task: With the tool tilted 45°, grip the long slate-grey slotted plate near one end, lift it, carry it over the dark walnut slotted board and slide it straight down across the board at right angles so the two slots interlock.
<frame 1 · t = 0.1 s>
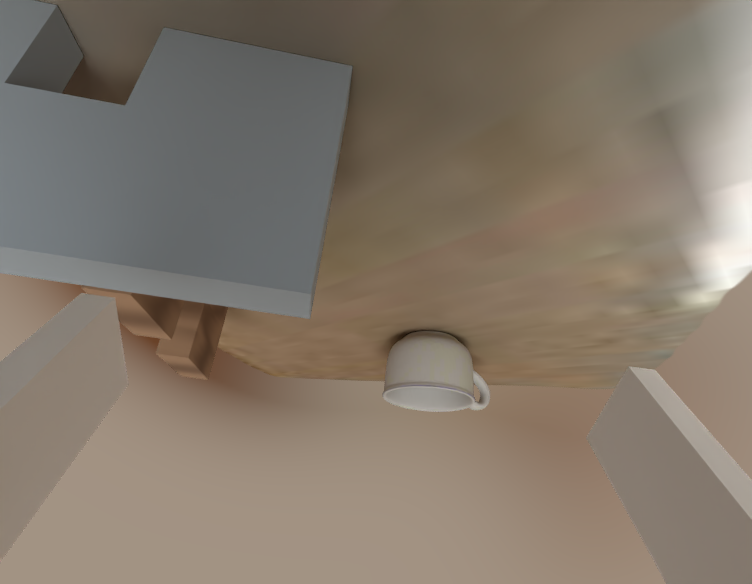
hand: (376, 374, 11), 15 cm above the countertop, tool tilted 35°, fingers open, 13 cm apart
teacup: (440, 340, 54), on the countertop
walnut board: (200, 232, 36), on the countertop
slate plate: (121, 42, 20), on the countertop
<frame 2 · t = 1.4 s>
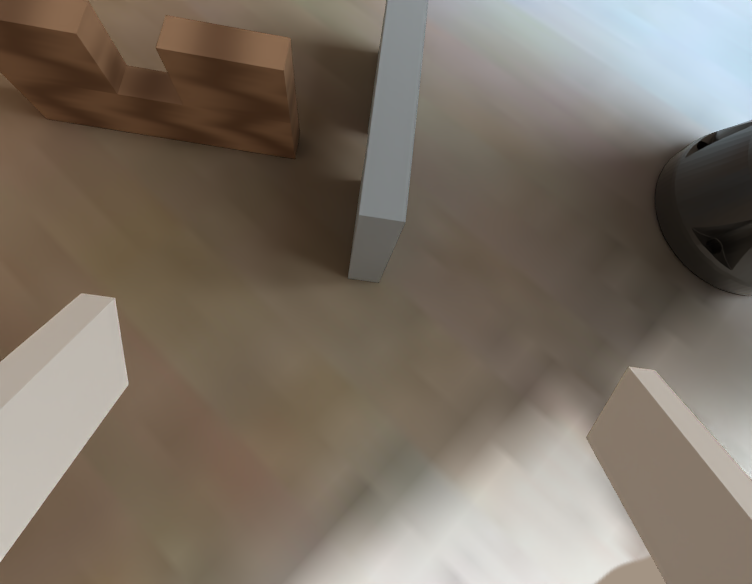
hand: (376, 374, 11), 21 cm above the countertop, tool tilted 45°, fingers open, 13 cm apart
walnut board: (177, 126, 36), on the countertop
slate plate: (378, 159, 37), on the countertop
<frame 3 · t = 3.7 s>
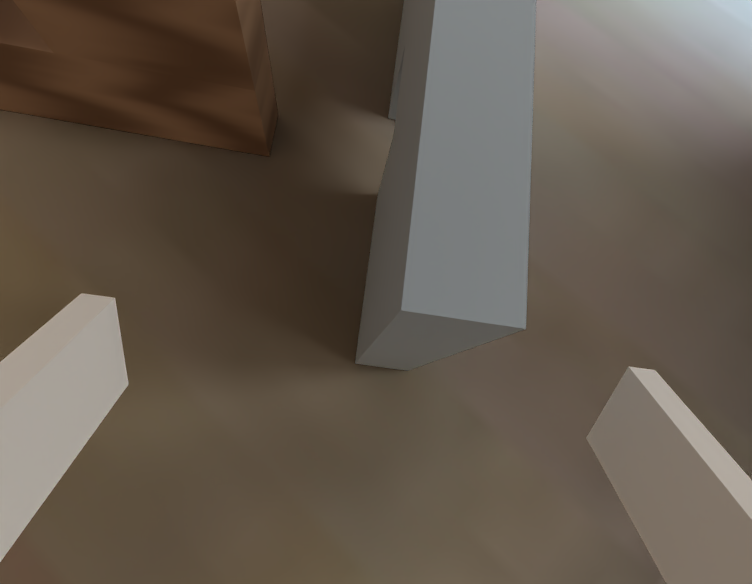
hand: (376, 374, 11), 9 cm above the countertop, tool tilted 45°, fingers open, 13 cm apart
walnut board: (71, 99, 21), on the countertop
slate plate: (406, 159, 23), on the countertop
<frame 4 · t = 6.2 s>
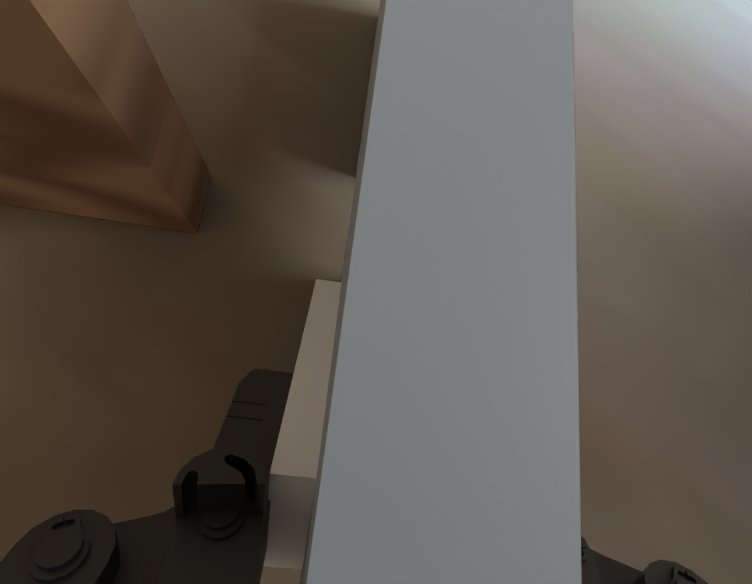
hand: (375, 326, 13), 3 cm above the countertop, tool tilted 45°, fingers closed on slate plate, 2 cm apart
slate plate: (378, 231, 18), on the countertop, touching gripper
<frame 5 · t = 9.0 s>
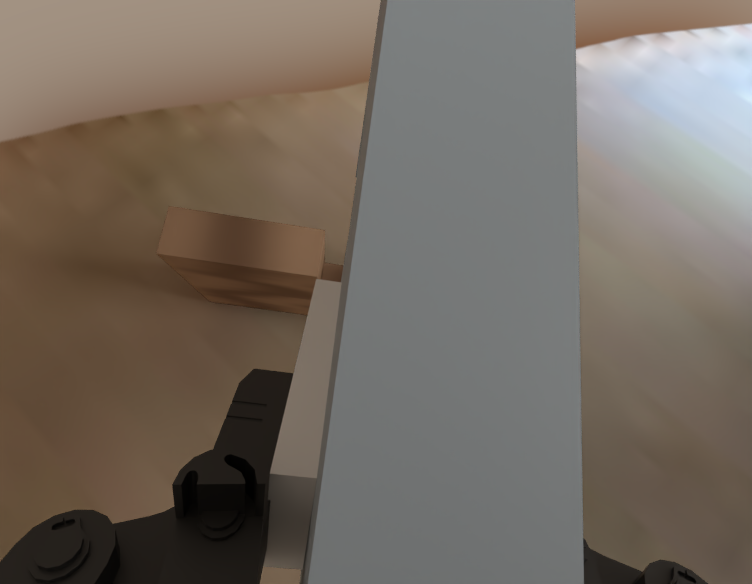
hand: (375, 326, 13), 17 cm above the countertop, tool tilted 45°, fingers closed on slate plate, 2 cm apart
walnut board: (353, 304, 31), on the countertop
slate plate: (378, 231, 18), point 14 cm above the countertop, touching gripper
when the fingers open (4 cm above the countertop, at t = 12.3 s): slate plate drops 1 cm, on the countertop.
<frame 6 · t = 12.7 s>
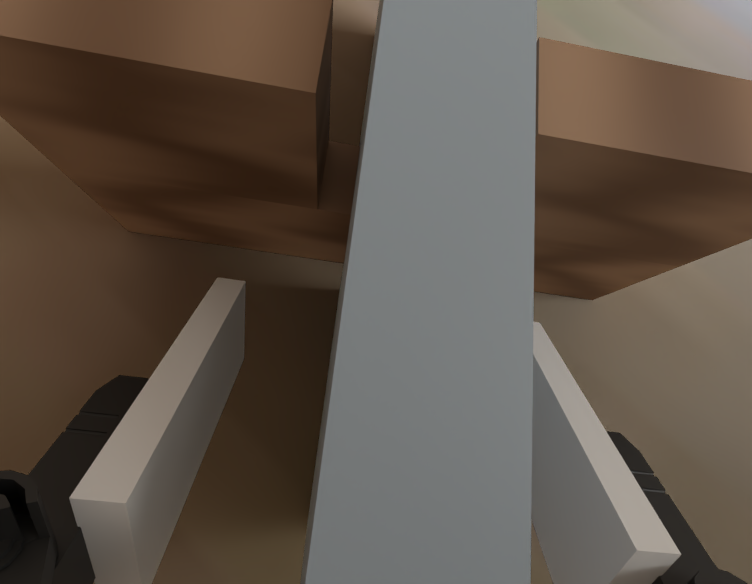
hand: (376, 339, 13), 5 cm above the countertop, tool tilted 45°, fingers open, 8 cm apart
walnut board: (375, 240, 19), on the countertop
slate plate: (375, 243, 18), on the countertop
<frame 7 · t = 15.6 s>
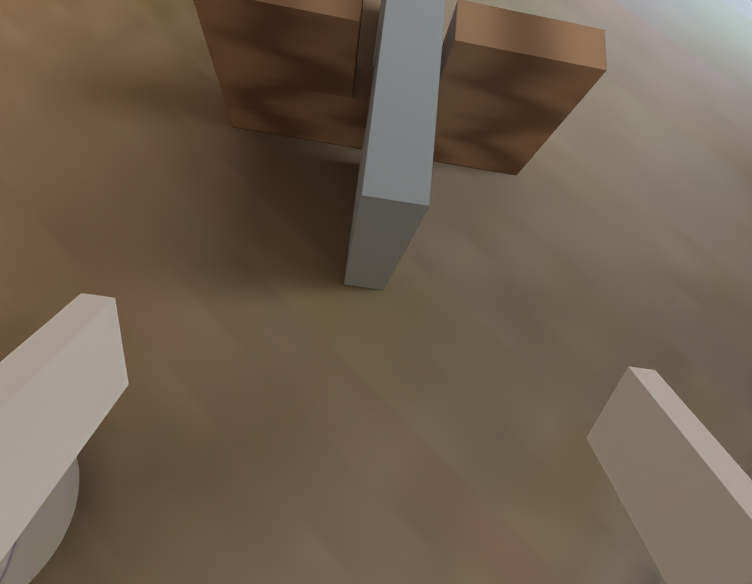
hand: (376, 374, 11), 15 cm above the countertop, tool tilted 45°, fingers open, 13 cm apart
walnut board: (381, 136, 30), on the countertop
slate plate: (381, 137, 30), on the countertop
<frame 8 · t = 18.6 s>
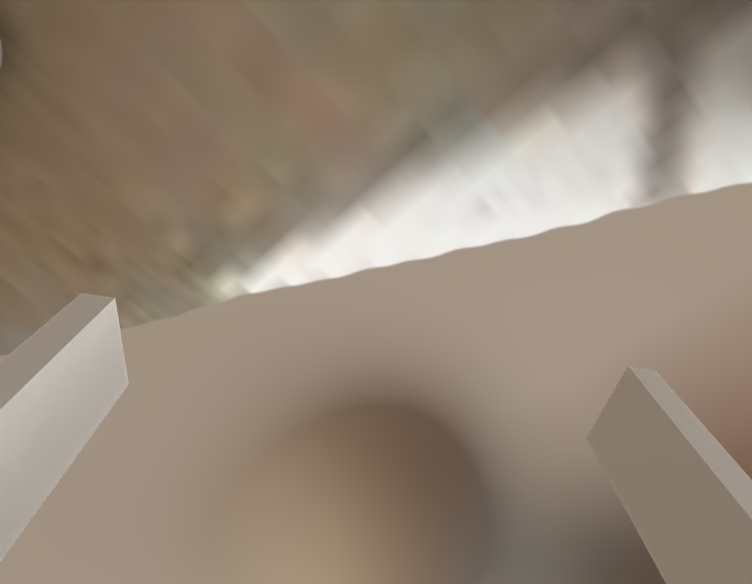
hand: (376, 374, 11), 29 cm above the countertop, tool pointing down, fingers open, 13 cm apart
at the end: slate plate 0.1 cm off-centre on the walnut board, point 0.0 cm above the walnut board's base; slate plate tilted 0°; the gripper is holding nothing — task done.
